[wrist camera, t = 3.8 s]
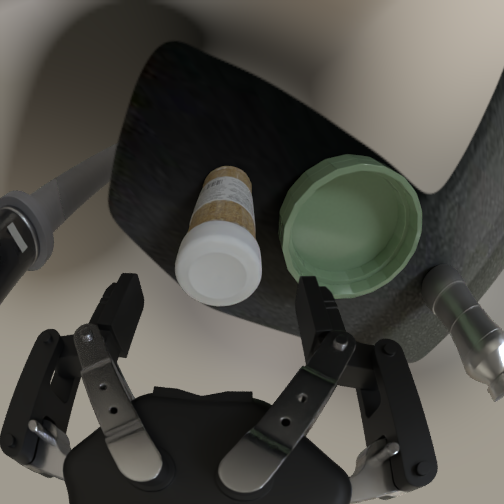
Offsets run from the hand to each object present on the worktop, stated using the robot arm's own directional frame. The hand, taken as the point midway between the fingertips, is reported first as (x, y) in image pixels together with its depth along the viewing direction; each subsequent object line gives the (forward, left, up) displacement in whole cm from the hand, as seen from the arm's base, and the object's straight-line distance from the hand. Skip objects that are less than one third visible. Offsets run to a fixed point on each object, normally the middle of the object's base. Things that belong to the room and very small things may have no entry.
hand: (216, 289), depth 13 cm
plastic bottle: (+28, -11, -14) cm, 33 cm away
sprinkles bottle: (0, 0, -14) cm, 14 cm away
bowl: (+12, -3, -14) cm, 19 cm away
